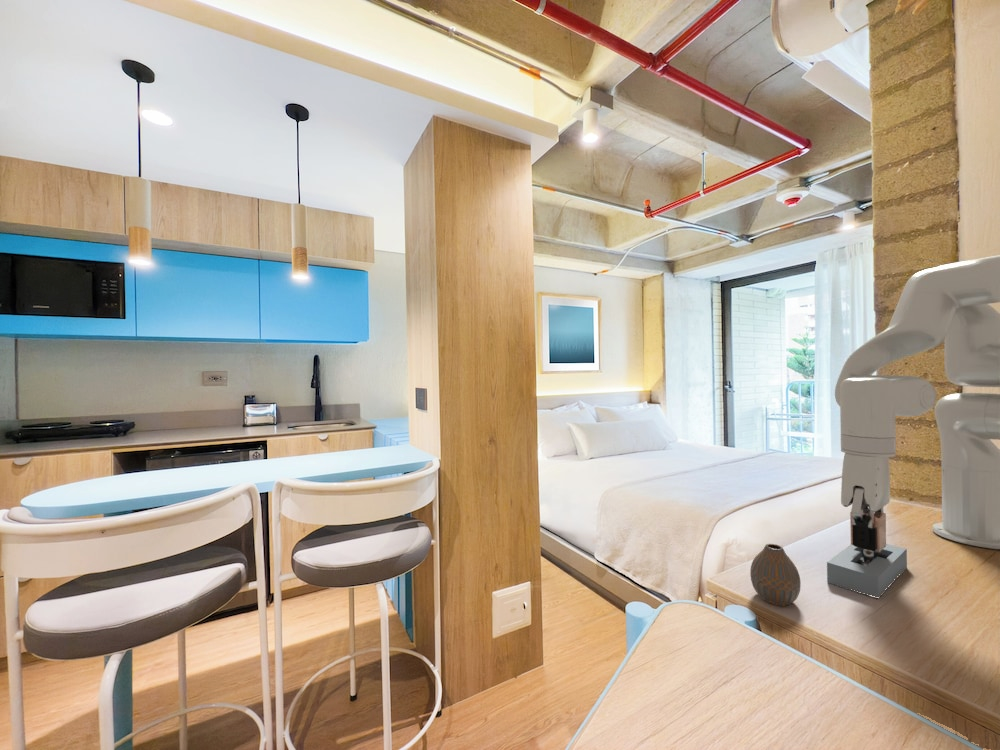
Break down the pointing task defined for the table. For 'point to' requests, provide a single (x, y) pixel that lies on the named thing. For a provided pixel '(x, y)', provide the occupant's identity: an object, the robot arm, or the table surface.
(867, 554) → the key
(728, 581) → the table surface
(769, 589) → the vase
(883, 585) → the keyhole plate
